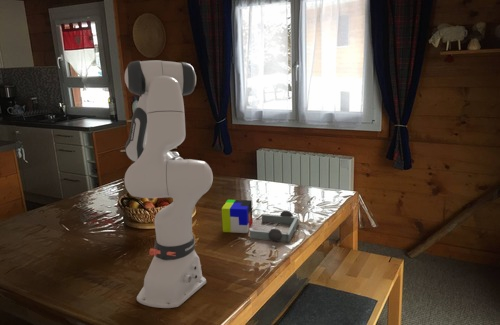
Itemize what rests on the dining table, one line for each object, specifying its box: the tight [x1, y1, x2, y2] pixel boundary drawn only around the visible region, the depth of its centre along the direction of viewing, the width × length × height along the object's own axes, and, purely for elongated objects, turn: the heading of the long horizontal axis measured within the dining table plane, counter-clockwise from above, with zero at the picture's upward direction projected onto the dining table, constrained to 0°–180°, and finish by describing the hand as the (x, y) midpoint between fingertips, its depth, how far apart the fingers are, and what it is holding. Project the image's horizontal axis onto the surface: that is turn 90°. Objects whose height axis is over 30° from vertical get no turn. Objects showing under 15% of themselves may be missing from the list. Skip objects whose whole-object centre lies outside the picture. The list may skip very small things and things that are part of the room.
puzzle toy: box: [221, 199, 253, 234], centre depth 172 cm, size 10×10×10 cm
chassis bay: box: [249, 210, 300, 243], centre depth 167 cm, size 19×15×5 cm
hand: (186, 185), depth 175 cm, fingers closed
